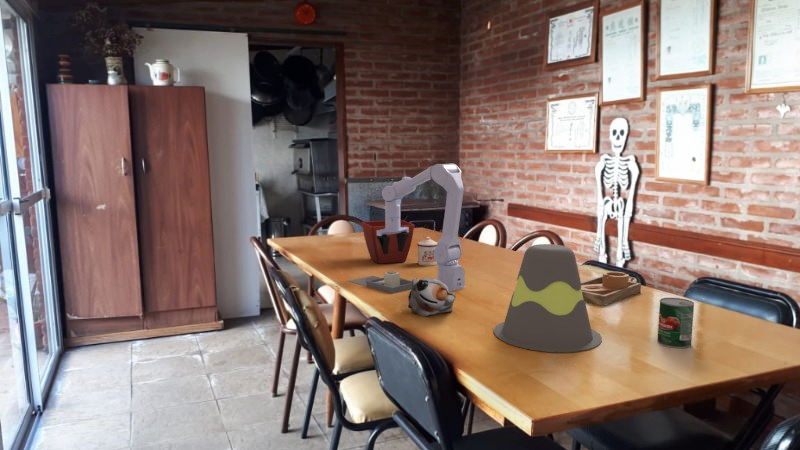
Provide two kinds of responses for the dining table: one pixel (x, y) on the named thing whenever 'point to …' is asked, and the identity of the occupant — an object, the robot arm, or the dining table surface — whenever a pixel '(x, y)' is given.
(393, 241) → the plant pot
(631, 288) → the fitting cradle
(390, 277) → the block
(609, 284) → the brown cup and saucer
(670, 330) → the canned tomato
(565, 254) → the grey brimmed hat
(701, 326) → the dining table surface
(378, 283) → the case
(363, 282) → the lid panel
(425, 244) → the teacup with lid
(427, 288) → the grey lumpy rounded piece
